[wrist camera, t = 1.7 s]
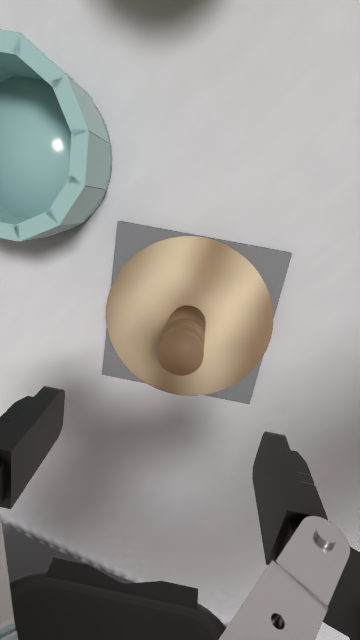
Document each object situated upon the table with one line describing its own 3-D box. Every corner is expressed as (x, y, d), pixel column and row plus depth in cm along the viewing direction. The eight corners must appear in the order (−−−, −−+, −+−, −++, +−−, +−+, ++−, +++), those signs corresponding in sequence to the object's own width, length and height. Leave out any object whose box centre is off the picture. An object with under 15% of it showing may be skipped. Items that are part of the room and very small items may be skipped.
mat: (290, 252, 25) (291, 253, 24) (248, 400, 29) (249, 404, 28) (120, 220, 25) (117, 221, 24) (104, 371, 29) (102, 374, 29)
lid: (291, 253, 24) (320, 270, 18) (249, 404, 28) (259, 461, 22) (118, 221, 24) (84, 225, 18) (102, 374, 29) (70, 421, 22)
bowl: (120, 79, 22) (94, 45, 17) (104, 245, 26) (80, 253, 21) (-38, 53, 22) (-105, 11, 18) (-31, 219, 26) (-85, 221, 21)
